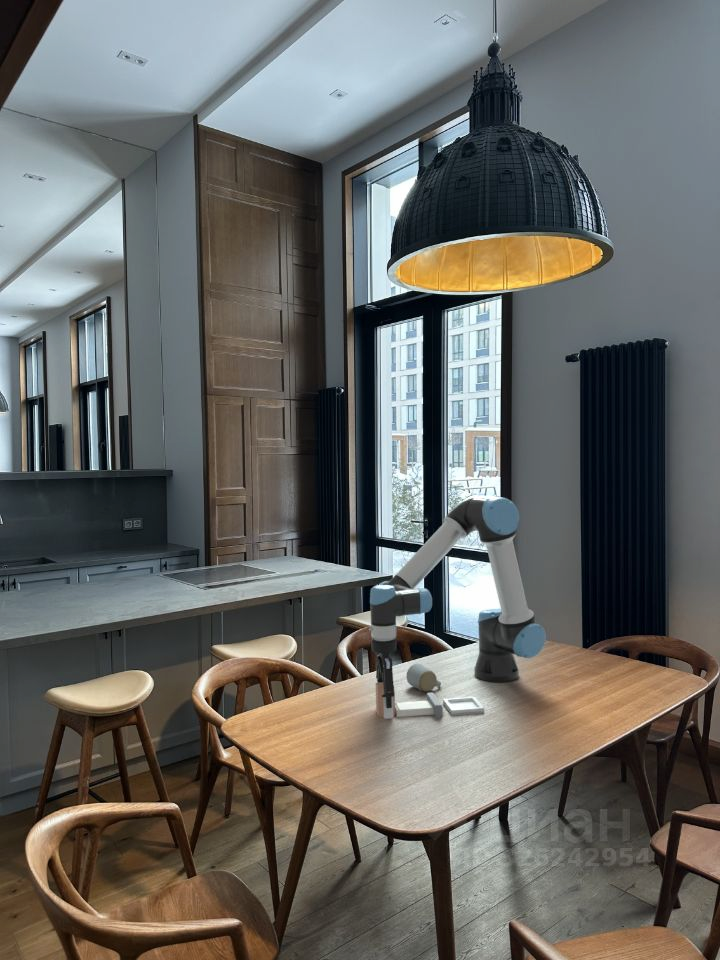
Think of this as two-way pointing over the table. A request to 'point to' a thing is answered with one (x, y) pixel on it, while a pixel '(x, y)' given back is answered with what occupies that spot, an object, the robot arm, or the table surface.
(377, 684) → the stub
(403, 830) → the table surface
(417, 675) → the ceramic mug
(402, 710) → the white grey t-shaped block
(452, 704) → the stub tray
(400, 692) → the table surface
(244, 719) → the table surface
